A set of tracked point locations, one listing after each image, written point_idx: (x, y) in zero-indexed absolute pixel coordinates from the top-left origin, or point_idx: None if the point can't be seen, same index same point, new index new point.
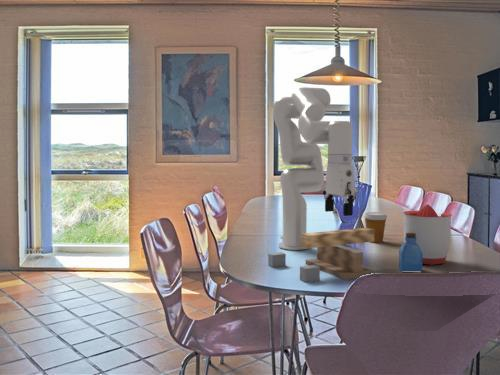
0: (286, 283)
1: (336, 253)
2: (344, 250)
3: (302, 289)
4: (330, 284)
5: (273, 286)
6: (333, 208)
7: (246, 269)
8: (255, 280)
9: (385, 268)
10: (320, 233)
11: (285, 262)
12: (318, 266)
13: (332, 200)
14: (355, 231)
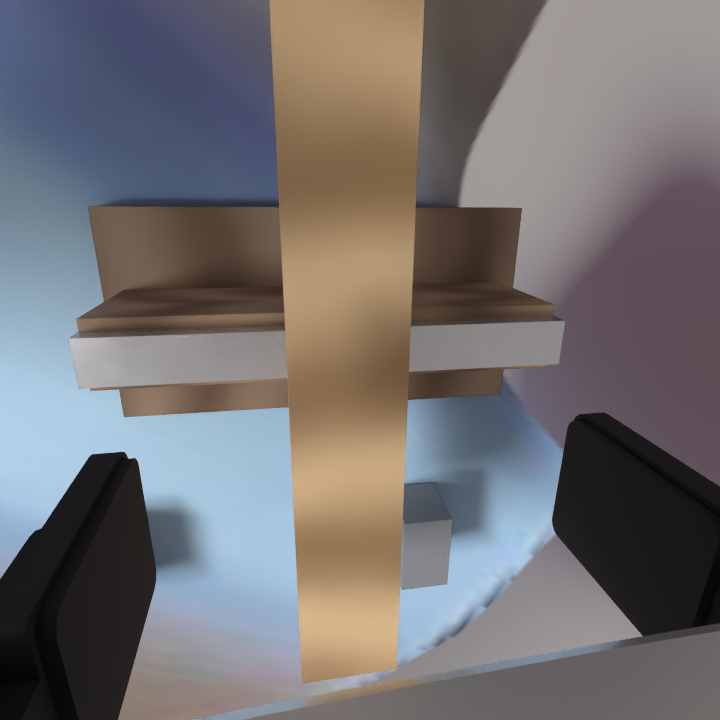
0: (405, 603)
1: None
2: (441, 371)
3: (495, 582)
4: (502, 472)
5: (415, 649)
6: (123, 485)
7: (134, 675)
8: None
9: (424, 9)
10: (360, 567)
11: None
12: (443, 521)
13: (70, 646)
14: (413, 229)
